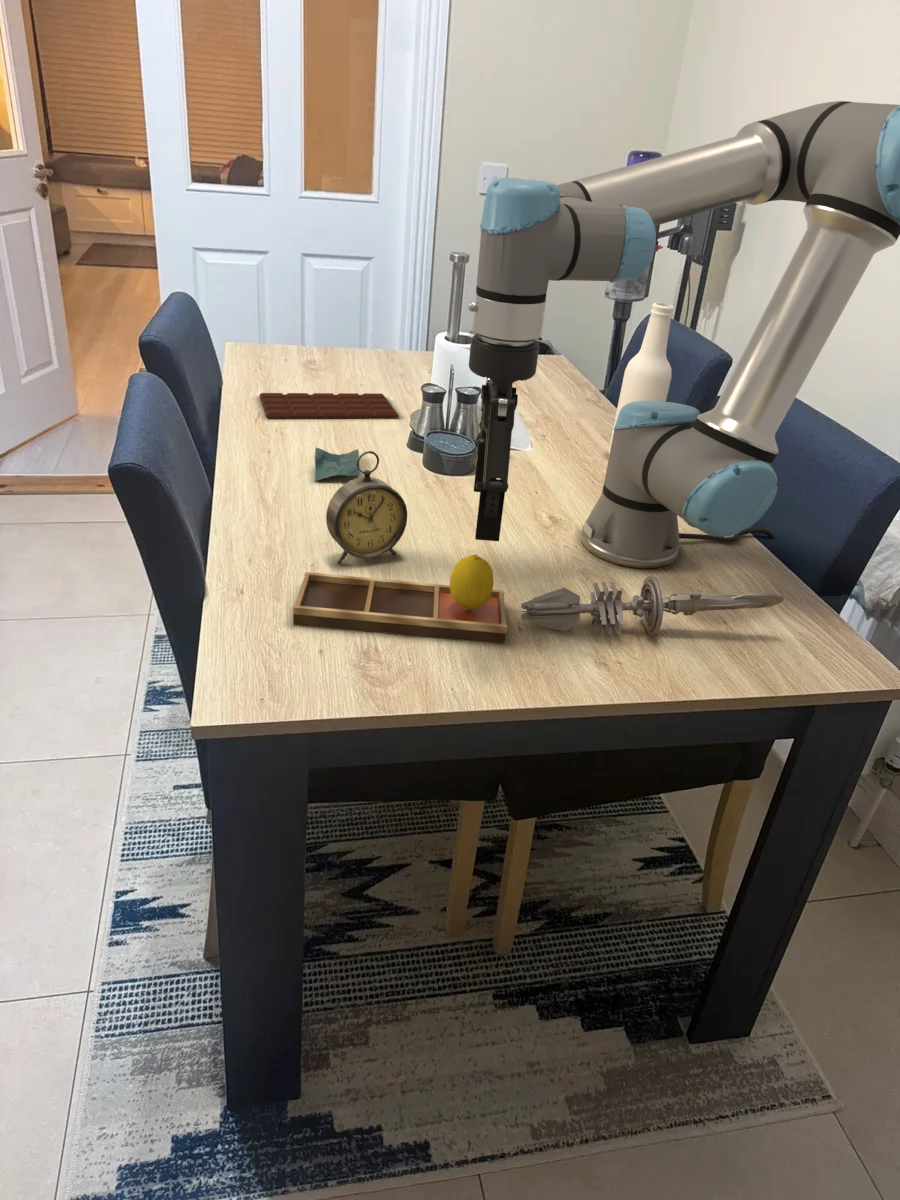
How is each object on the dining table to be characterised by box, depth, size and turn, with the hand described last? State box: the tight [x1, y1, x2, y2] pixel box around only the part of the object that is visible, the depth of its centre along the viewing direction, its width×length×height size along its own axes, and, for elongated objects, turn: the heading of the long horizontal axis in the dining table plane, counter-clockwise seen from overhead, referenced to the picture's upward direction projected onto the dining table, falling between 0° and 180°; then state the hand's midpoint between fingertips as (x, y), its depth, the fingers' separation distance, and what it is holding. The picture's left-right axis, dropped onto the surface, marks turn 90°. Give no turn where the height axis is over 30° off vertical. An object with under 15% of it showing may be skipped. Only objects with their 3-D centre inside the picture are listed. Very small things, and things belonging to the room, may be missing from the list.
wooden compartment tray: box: [292, 571, 508, 644], centre depth 109 cm, size 27×9×2 cm, turn 89°
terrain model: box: [314, 447, 361, 482], centre depth 149 cm, size 13×8×2 cm, turn 6°
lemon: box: [449, 554, 495, 611], centre depth 107 cm, size 6×6×8 cm
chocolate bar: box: [259, 392, 399, 419], centre depth 178 cm, size 27×14×1 cm, turn 107°
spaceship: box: [519, 574, 784, 637], centre depth 111 cm, size 8×35×8 cm
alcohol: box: [608, 301, 675, 455], centre depth 162 cm, size 9×9×30 cm
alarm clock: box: [325, 450, 408, 565], centre depth 119 cm, size 11×5×16 cm, turn 117°
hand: (485, 514), depth 103 cm, fingers open, 13 cm apart
